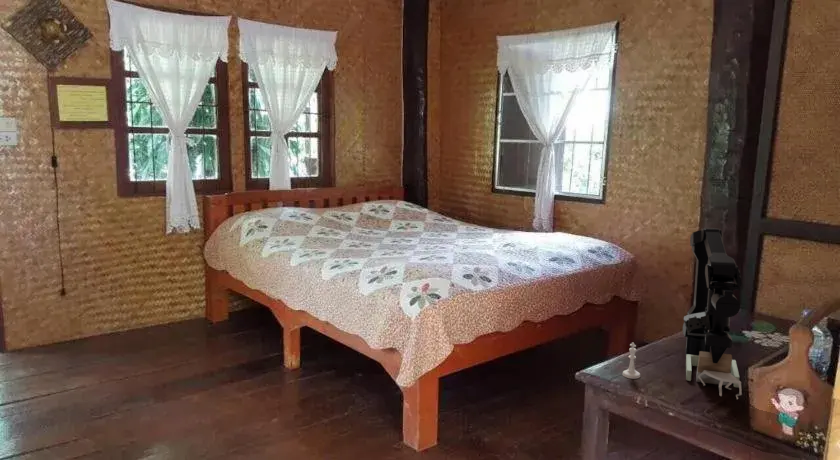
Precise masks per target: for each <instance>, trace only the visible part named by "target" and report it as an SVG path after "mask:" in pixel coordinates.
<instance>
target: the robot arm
mask: <svg viewBox="0 0 840 460" xmlns="http://www.w3.org/2000/svg"><path fill="white" fill-rule="evenodd" d="M689 244H690V247H691V252H692V253H693V255H694V256H695V259H696V261H695V262H696V266H695V277H694V278H695V279H694V280H695V281H694V295H693V304H692V306H691V307H690V308H689V310H688V311H687V315H684V316H683V325H682V334H683V336H684V337H685V338H686V345H685V356H686V354H690V355H698V356H699V352H700V351H703V352H711V353H712V360H713V363H718V361H719V360H720V358H721V356H722V355H723V354H725V352H726V350H727V349H730V348H731V349H732V346H733V345H732V344H733V339H732V336H731V335H730V334H729V332H730V330H731V328H730V320H731V319H730V318H732V317H734V316H736V315H737V314H738V313H739V311H740V309H741V305H740V301H739V300H738V299H737V297H736V296H735V295H734V291H741V287H742V284H743V283H742V277H741V275H742V274H741V271H740V269H739V266H738V265H737V263H736V261H735V259H734V258H733V257H732V256H729V255H728V254H727V251H726V248H725V244H724V233H723V232H722V229H721V228H715V227H704V228H702V229H699V230H697V231H693V232H692V233H691V234H690V239H689Z"/></svg>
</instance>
